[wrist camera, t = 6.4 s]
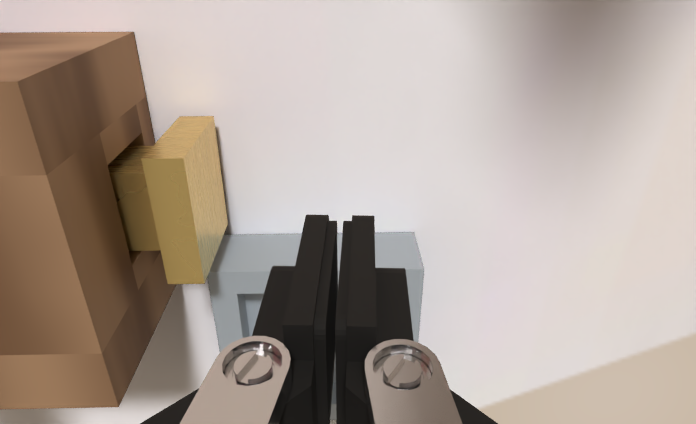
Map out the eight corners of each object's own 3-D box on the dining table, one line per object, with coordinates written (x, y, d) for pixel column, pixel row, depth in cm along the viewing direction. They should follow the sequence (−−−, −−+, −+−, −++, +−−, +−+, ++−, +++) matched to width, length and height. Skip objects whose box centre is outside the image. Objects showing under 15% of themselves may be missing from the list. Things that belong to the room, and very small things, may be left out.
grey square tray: (414, 232, 21) (424, 269, 18) (404, 372, 25) (411, 418, 22) (221, 234, 21) (206, 272, 18) (241, 375, 24) (231, 421, 22)
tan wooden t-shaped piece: (213, 116, 18) (183, 158, 14) (227, 223, 20) (204, 283, 16) (9, 117, 18) (-72, 160, 14) (45, 225, 20) (-19, 286, 16)
